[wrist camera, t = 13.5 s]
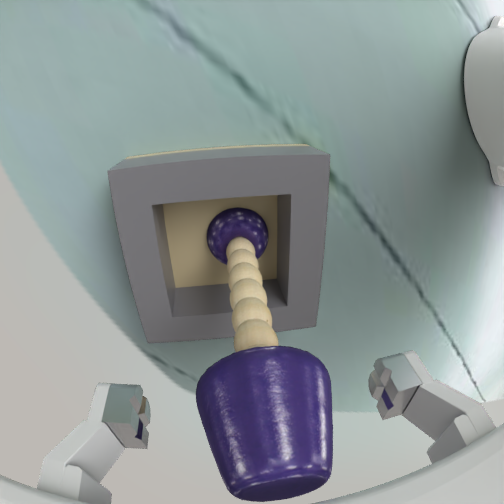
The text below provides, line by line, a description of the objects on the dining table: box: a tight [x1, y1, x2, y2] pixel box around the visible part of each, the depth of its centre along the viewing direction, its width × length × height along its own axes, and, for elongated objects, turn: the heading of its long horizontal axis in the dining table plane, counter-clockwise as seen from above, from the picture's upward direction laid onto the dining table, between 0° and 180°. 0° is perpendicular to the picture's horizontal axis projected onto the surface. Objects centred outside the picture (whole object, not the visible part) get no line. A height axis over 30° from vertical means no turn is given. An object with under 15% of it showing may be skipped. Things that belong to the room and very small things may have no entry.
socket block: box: [108, 144, 330, 343], centre depth 20 cm, size 12×12×4 cm
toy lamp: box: [196, 207, 333, 502], centre depth 14 cm, size 5×5×17 cm
